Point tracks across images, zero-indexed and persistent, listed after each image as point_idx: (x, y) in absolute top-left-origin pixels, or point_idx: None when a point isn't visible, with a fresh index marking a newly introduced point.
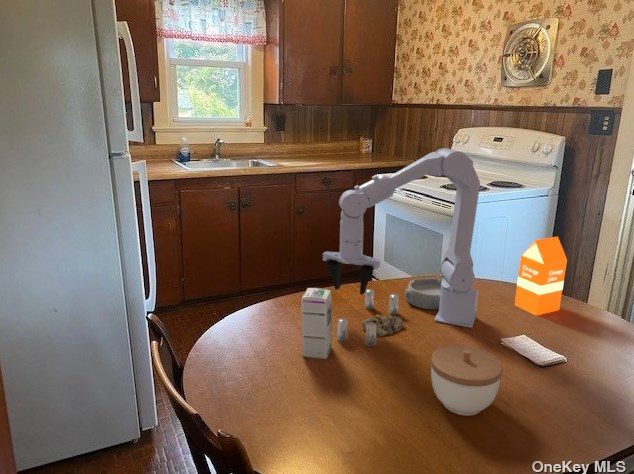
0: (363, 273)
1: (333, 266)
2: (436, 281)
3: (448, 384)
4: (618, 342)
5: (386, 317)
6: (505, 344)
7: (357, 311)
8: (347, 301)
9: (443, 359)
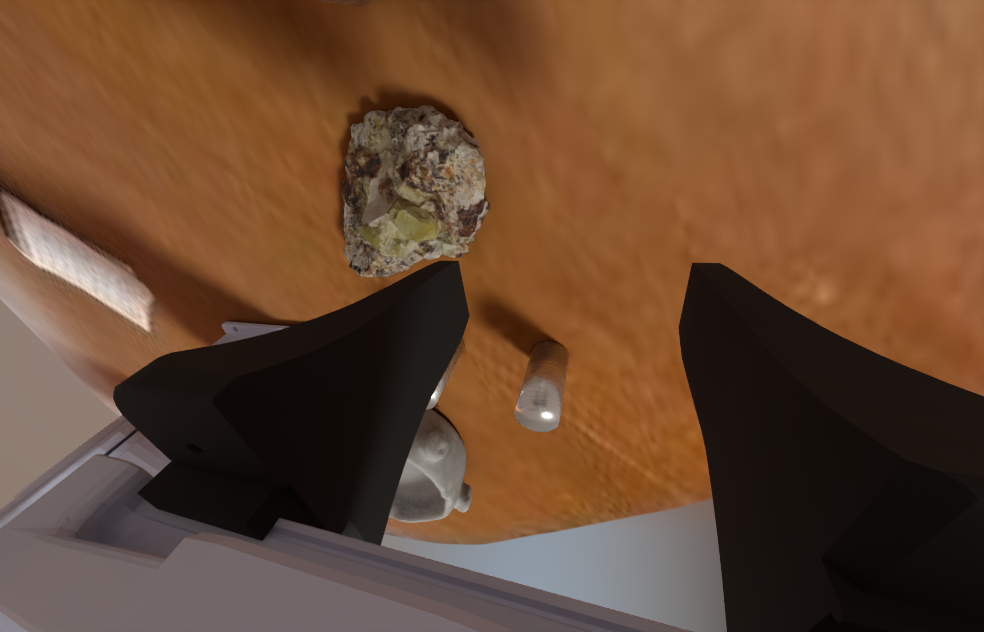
0: (227, 357)
1: (977, 494)
2: (399, 509)
3: None
4: (64, 354)
5: (375, 230)
6: (120, 266)
7: (584, 309)
8: (664, 381)
9: None
